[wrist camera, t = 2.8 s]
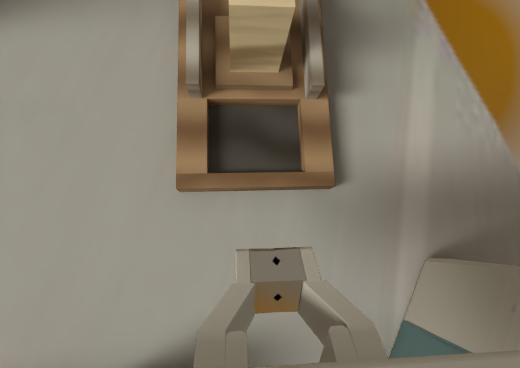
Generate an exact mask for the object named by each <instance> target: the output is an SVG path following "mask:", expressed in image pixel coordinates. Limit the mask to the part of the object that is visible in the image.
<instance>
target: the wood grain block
mask: <svg viewBox="0 0 520 368" xmlns="http://www.w3.org/2000/svg"><path fill="white" fill-rule="evenodd" d="M294 11H295V0H229V16H215V45H216V89H275V90H292V87H293V77H292V60H291V43H290V26H291V22H292V18H293V14H294Z"/></svg>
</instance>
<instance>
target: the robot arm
mask: <svg viewBox="0 0 520 368" xmlns="http://www.w3.org/2000/svg"><path fill="white" fill-rule="evenodd" d="M270 312H298V313H299V314H300V316H301V317H302V318H303V319H304V321H305V322H306V323H307V325H308V326H309V327H310V328H311V330H312V331H313V332H314V333H315V335H316V336H317V337H318V339H319V340H320V341H321V342H322V344H323V345H324V348H323V352H322V355H321V359H320V362H319V363H311V364H296V365H281V366H266V367H250V368H520V350H514V351H499V352H483V353H467V354H452V355H436V356H421V357H405V358H390V359H388V357H387V354H386V352H385V350H384V347H383V345H382V342H381V340H380V337H379V335H378V333H377V330H376V328H375V325H374V323H373V322H372V321H371V320H370V319H369V318H367V317H366V316H365V315H364V314H363V313H362V312H361V311H360V310H359V309H357V308H356V307H355V306H354V305H353V304H352V303H351V302H350V301H348V300H347V299H346V298H345V297H344V296H343V295H342V294H341V293H340V292H338V291H337V290H336V289H335V288H334V287H333V286H332V285H331V284H330V283H328V282H327V281H326V280H322V279H321V276H320V272H319V269H318V266H317V262H316V259H315V256H314V252H313V249H312V248H311V247H292V248H274V249H236V284H232V285H231V286H230V288H229V289H228V290H227V292H226V293H225V295H224V296H223V297H222V299H221V300H220V301H219V303H218V304H217V306H216V307H215V308H214V310H213V311H212V312H211V314H210V315H209V317H208V318H207V319H206V321H205V322H204V323H203V325H202V326H201V328H200V329H199V330H198V332H197V338H196V347H195V356H194V365H193V368H248V356H247V334H245V333H246V331H247V329H248V327H249V325H250V323H251V321H252V319H253V317H254V315H255V314H258V313H270Z"/></svg>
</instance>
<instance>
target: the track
mask: <svg viewBox="0 0 520 368" xmlns="http://www.w3.org/2000/svg"><path fill="white" fill-rule="evenodd" d="M215 16H229V0H179V42H178V103H177V165H176V189H177V190H178V191H179V192H201V191H249V190H298V189H330V188H332V187H333V186H335V179H334V167H333V154H332V142H331V129H330V117H329V105H328V92H327V80H326V67H325V55H324V43H323V30H322V18H321V5H320V0H295V11H294V14H293V18H292V22H291V26H290V43H291V60H292V77H293V87H292V90H275V89H216V45H215Z"/></svg>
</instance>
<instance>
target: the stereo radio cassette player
mask: <svg viewBox="0 0 520 368" xmlns="http://www.w3.org/2000/svg"><path fill="white" fill-rule="evenodd" d="M514 350H520V266H516V265H507V264H498V263H488V262H478V261H468V260H457V259H442V258H429V259H427V260H426V261H425V263H424V265H423V268H422V271H421V274H420V276H419V279H418V282H417V284H416V287H415V290H414V293H413V295H412V298H411V301H410V304H409V306H408V309H407V312H406V315H405V317H404V320H403V322H402V325H401V328H400V330H399V333H398V336H397V339H396V341H395V344H394V347H393V349H392V352H391V355H390V358H405V357H421V356H436V355H452V354H467V353H483V352H499V351H514ZM390 358H389V359H390Z"/></svg>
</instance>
